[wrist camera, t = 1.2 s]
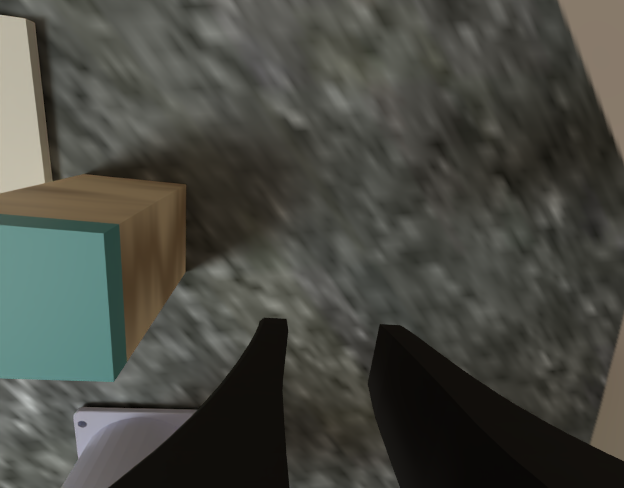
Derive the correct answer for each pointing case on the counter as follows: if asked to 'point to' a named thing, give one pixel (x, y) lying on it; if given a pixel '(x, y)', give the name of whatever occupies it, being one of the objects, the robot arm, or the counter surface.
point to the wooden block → (85, 273)
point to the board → (21, 108)
